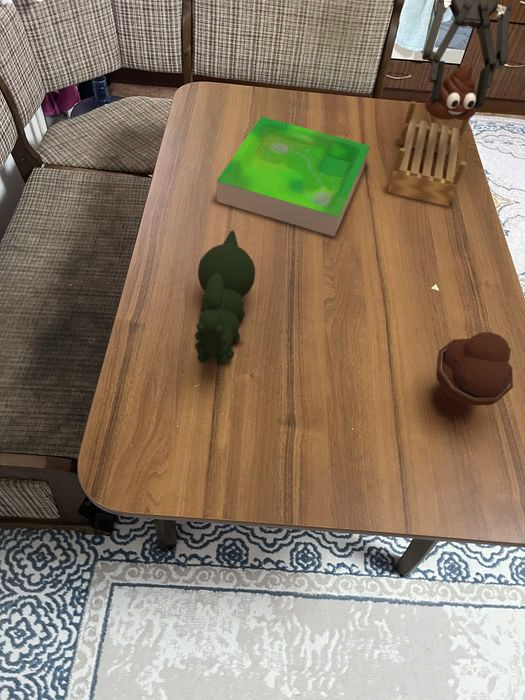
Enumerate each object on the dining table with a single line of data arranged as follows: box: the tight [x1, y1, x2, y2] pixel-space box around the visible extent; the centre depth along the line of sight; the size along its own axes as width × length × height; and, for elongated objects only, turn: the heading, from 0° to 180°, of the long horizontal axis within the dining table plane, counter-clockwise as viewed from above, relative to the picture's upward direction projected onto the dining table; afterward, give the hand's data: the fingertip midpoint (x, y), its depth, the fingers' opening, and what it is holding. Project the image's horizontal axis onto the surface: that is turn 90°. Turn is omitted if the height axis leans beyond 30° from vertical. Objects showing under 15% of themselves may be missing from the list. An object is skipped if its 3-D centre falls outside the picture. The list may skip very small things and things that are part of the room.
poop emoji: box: [424, 62, 478, 121], centre depth 100 cm, size 10×8×9 cm
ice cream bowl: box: [434, 331, 514, 418], centre depth 78 cm, size 11×11×15 cm
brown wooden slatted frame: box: [386, 100, 471, 207], centre depth 114 cm, size 13×20×10 cm, turn 164°
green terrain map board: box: [216, 116, 371, 238], centre depth 111 cm, size 25×25×5 cm
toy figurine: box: [194, 230, 256, 366], centre depth 83 cm, size 9×19×25 cm
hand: (456, 103), depth 99 cm, fingers closed on poop emoji, 8 cm apart
